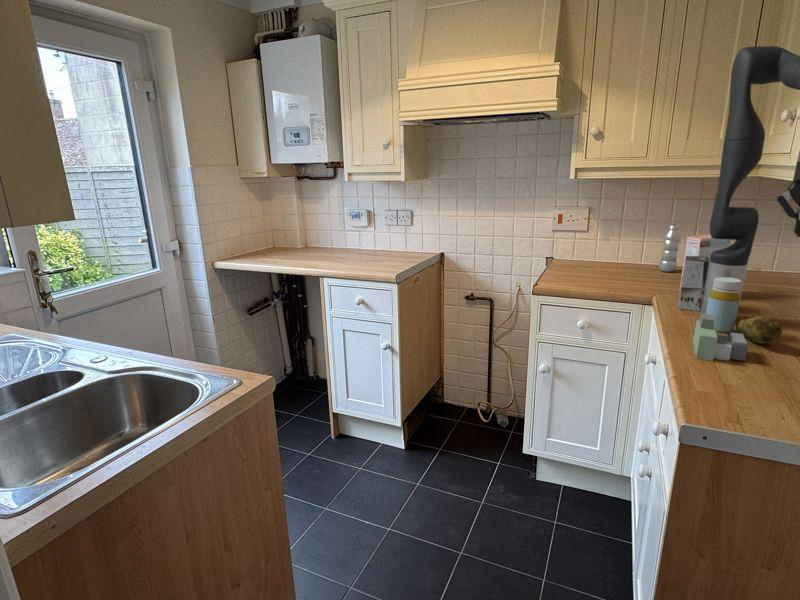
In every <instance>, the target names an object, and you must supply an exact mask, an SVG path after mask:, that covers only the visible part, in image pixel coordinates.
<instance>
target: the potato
mask: <svg viewBox="0 0 800 600" xmlns="http://www.w3.org/2000/svg"><path fill="white" fill-rule="evenodd" d="M735 329H736V333H739V334H743V335H744V338H745V339H748V341H751V342H754V343H757V344H771V343H774V342H775V341H777V340H779V339H780V338H781V336H782V333H783V330H782V326H781V324H780V322H778V321H777V320H776V319H774V318H772V317H766V316H755V317H751V318H746V319H741V320H739V321H737V323H735Z"/></svg>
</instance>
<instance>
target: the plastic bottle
mask: <svg viewBox="0 0 800 600" xmlns="http://www.w3.org/2000/svg"><path fill="white" fill-rule="evenodd" d="M679 230H680V224H677V223H671V224H669V225H668V231H667V232H666V233H665V234H664V235H663V248H662V249H663V250H662V255H661V258H660V261H659V264H658V268H659V270H660V271H662V272H666V273H667V272H668V273H670V272H675V271H676V269H677V264H678V262H677V257H678V250H679V248H680V247H679V246H680V243H681V240H682V235H681V233H680V231H679Z"/></svg>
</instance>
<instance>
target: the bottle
mask: <svg viewBox="0 0 800 600" xmlns="http://www.w3.org/2000/svg"><path fill="white" fill-rule="evenodd" d="M740 286H741V280H739V279H736V278H730V277H715V279H714V283H713V290H712V291H711V293H710V295H709V299H708V305H707V310H706V314H711V315H713V317H714V320H715V322H714V328H715V331H716V333H719V334H727V335H728V336H729V334H730V332H731V333H734V330H735V329H734V328H735V326H736V321H737V317H736V315H737V316H738V312H737V311H739V308H738V306H739V307H740V303H739V301H741V298H740V295H739V291H740ZM735 320H736V321H735Z"/></svg>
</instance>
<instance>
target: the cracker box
mask: <svg viewBox="0 0 800 600" xmlns="http://www.w3.org/2000/svg"><path fill="white" fill-rule="evenodd" d="M730 244H731V240H729V239H714V238H712V237H711V235H710V234H703V235H690V236H687V237H686V243H685V249H684V256H683V257H684V258H683V263H682V264H683V265H682V272H681V277H680V284H679V291H678V292H679V295H680V289H681V283H682V277H683V271H684V265H685V260H686V256H700V257H708V259H709V262H710V256H711V253H712V252H713V251H716V250H719V249H723V248H726V247H729V246H730ZM708 268H709V266H708ZM707 273H708V271H707ZM706 279H707V277H706ZM705 284H706V282H705ZM704 290H705V287H704ZM703 295H704V293H703Z"/></svg>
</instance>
